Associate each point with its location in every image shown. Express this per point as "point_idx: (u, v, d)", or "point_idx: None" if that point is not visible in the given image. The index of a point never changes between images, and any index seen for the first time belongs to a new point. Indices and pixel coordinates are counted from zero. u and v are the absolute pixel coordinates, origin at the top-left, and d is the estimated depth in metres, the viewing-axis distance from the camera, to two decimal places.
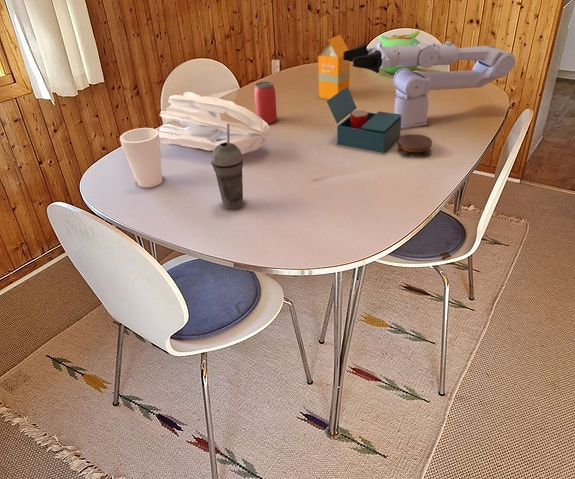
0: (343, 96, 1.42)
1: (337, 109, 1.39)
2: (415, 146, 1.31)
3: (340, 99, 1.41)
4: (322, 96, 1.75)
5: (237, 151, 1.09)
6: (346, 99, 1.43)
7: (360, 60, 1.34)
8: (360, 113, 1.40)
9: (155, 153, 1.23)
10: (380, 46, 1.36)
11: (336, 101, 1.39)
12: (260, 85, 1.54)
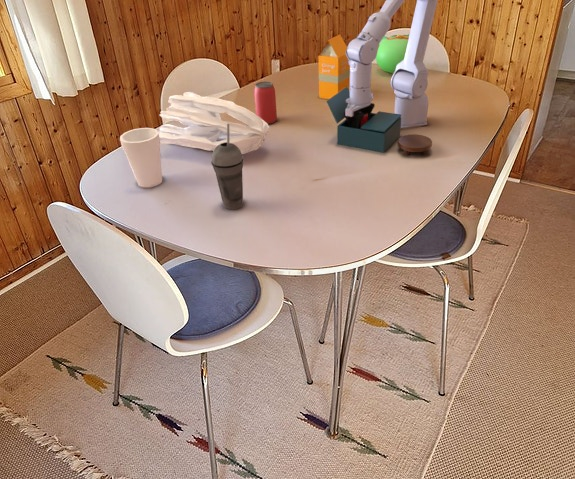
0: (343, 96, 1.42)
1: (337, 109, 1.39)
2: (415, 146, 1.31)
3: (340, 99, 1.41)
4: (322, 96, 1.75)
5: (237, 151, 1.09)
6: None
7: None
8: None
9: (155, 153, 1.23)
10: (347, 102, 1.39)
11: (336, 101, 1.39)
12: (260, 85, 1.54)
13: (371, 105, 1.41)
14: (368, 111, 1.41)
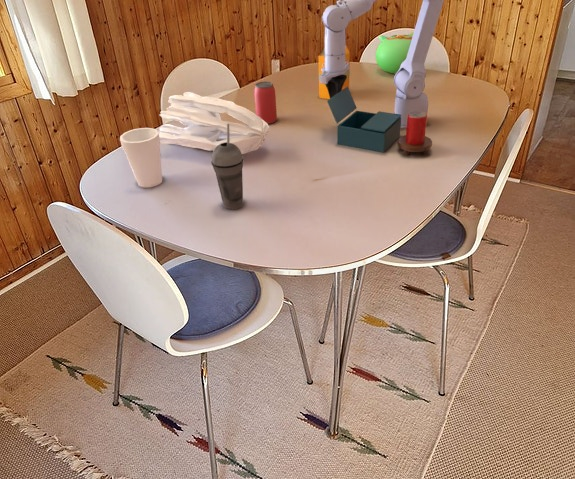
0: (343, 96, 1.42)
1: (337, 109, 1.39)
2: (415, 146, 1.31)
3: (340, 99, 1.41)
4: (322, 96, 1.75)
5: (237, 151, 1.09)
6: (346, 99, 1.43)
7: (331, 95, 1.43)
8: (419, 114, 1.29)
9: (155, 153, 1.23)
10: (323, 70, 1.41)
11: (336, 101, 1.39)
12: (260, 85, 1.54)
13: (343, 76, 1.40)
14: None
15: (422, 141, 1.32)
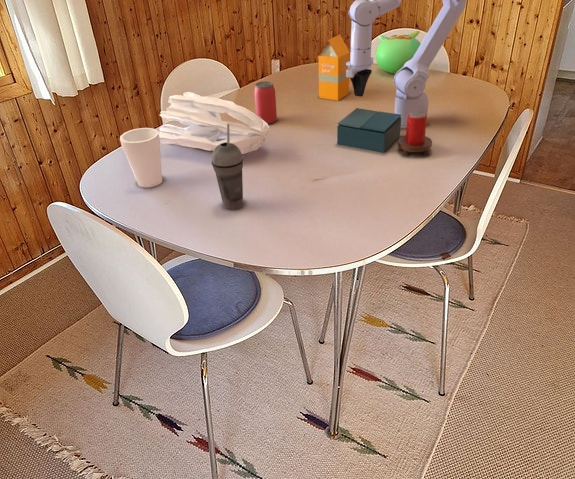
0: None
1: None
2: (415, 146, 1.31)
3: None
4: (322, 96, 1.75)
5: (237, 151, 1.09)
6: None
7: (356, 90, 1.44)
8: (419, 114, 1.29)
9: (155, 153, 1.23)
10: (348, 64, 1.41)
11: None
12: (260, 85, 1.54)
13: (368, 71, 1.41)
14: None
15: (422, 141, 1.32)
